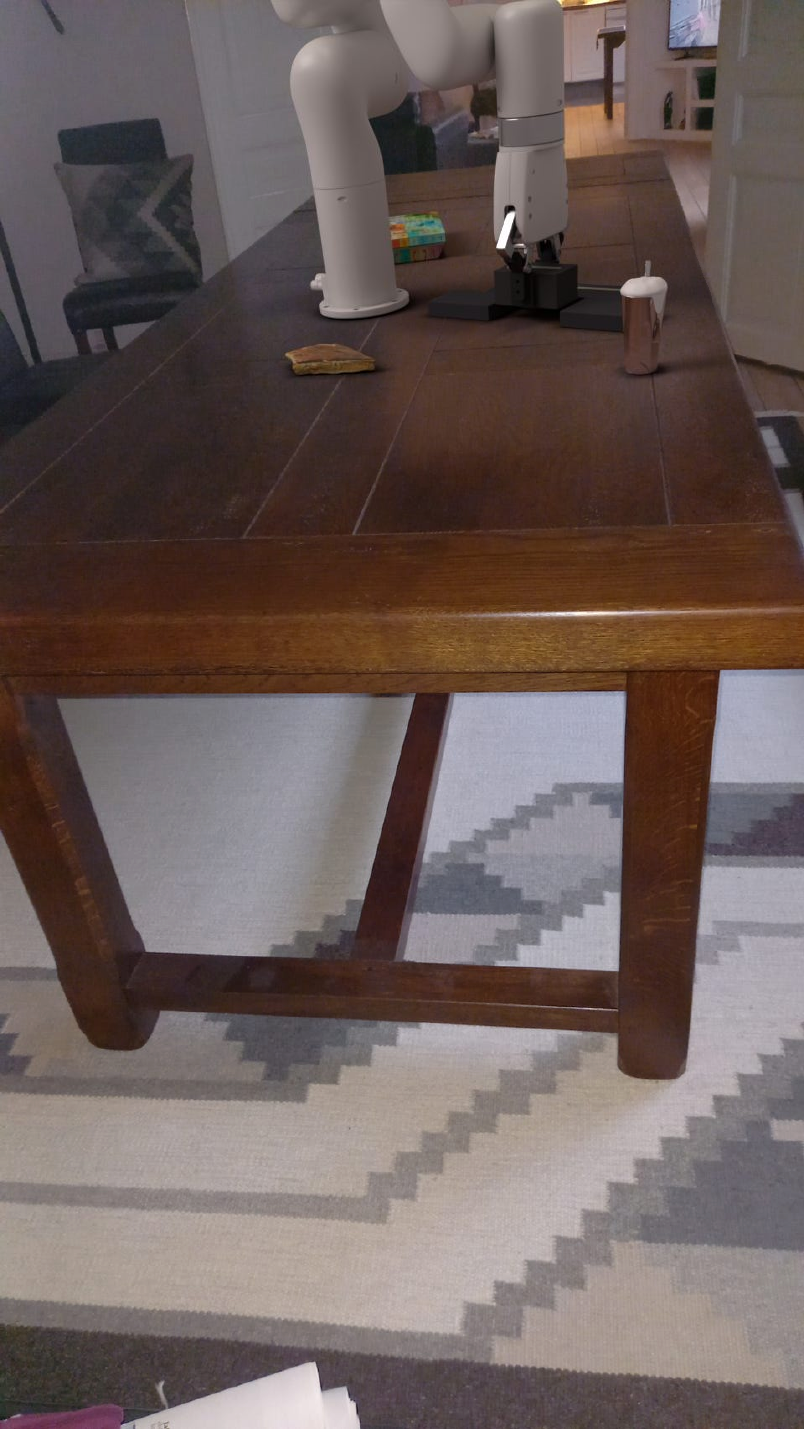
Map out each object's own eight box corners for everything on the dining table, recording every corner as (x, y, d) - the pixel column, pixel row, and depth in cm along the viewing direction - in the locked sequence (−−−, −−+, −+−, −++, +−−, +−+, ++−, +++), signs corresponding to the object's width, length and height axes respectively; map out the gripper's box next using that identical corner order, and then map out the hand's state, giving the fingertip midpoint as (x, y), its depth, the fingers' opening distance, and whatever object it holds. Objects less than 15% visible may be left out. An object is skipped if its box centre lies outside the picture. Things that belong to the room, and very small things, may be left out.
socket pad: (428, 316, 130) (427, 300, 129) (481, 291, 138) (480, 277, 136) (631, 333, 114) (632, 316, 113) (679, 304, 121) (680, 288, 120)
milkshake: (667, 360, 104) (671, 259, 98) (660, 377, 100) (665, 272, 94) (623, 361, 106) (625, 261, 100) (615, 377, 102) (617, 274, 96)
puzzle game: (371, 236, 155) (370, 215, 172) (375, 267, 158) (374, 244, 174) (444, 226, 155) (437, 206, 171) (447, 258, 158) (439, 235, 174)
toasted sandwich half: (378, 372, 112) (376, 356, 111) (318, 389, 110) (316, 372, 109) (336, 354, 120) (334, 338, 119) (280, 369, 118) (277, 354, 117)
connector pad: (495, 304, 124) (493, 270, 121) (516, 294, 127) (515, 260, 124) (557, 309, 119) (556, 273, 116) (577, 298, 122) (577, 263, 119)
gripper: (542, 122, 119) (545, 281, 130) (461, 146, 109) (472, 316, 120) (597, 120, 115) (596, 284, 126) (518, 144, 105) (524, 320, 116)
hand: (535, 298), depth 123 cm, fingers closed on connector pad, 4 cm apart
